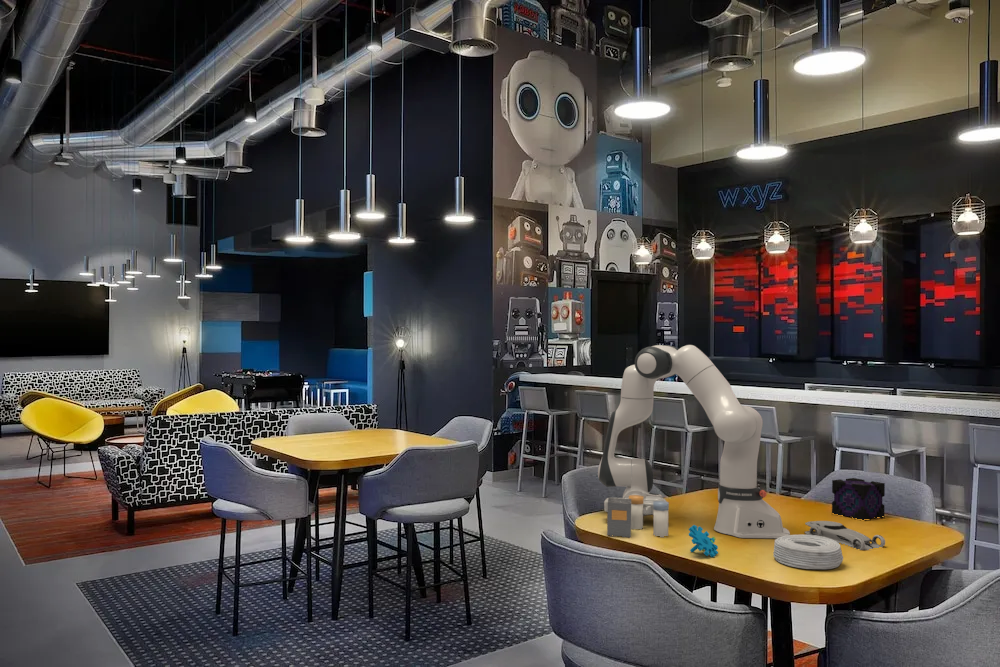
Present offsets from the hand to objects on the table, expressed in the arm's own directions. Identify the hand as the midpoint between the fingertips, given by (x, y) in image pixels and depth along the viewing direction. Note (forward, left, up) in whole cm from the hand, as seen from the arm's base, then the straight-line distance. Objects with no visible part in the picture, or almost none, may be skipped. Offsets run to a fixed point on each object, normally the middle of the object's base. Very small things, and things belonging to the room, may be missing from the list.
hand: (635, 511), depth 244 cm
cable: (-45, +28, -6) cm, 54 cm away
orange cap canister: (0, -1, -6) cm, 6 cm away
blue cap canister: (-7, +7, -6) cm, 12 cm away
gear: (-18, +26, -6) cm, 33 cm away
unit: (+5, +8, -6) cm, 11 cm away
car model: (-61, -2, -6) cm, 61 cm away
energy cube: (-77, -41, -6) cm, 87 cm away
